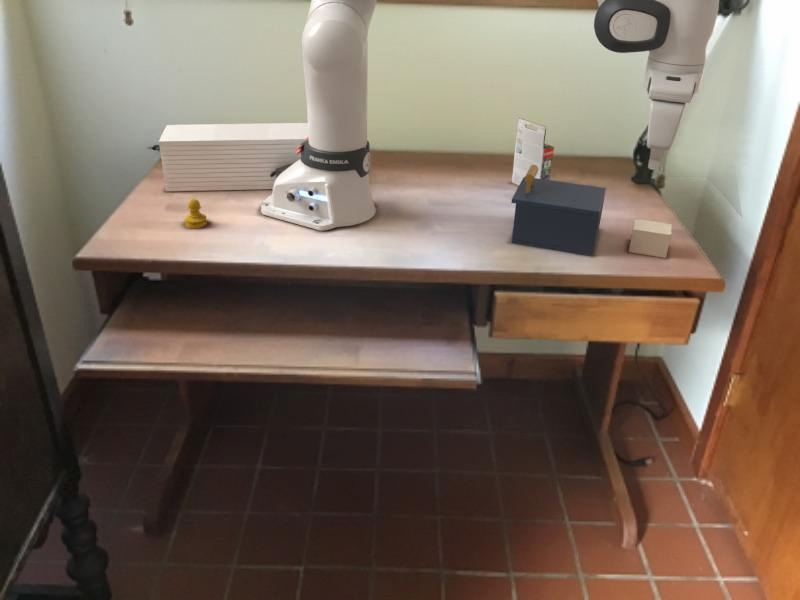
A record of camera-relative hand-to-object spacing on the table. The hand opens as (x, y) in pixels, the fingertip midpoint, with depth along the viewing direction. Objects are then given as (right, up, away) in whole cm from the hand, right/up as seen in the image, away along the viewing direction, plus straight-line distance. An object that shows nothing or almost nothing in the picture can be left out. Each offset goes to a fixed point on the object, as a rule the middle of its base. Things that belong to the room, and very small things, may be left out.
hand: (654, 159), depth 128 cm
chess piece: (-82, -10, +14) cm, 84 cm away
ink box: (-16, 0, +33) cm, 37 cm away
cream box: (+2, -15, +9) cm, 17 cm away
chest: (-14, -12, +12) cm, 22 cm away
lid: (-14, -5, +9) cm, 18 cm away
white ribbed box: (-77, +1, +33) cm, 83 cm away
